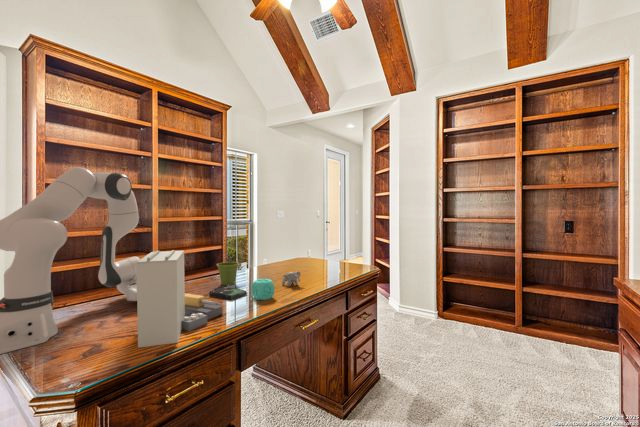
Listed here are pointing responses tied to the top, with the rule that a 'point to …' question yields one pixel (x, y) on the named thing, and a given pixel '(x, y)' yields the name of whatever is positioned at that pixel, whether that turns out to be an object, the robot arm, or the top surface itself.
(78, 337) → the top surface
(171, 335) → the slotted cream upright block
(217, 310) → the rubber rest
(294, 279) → the gray elephant figurine
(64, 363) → the top surface
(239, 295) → the disk drive
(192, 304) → the long orange square stick
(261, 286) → the decorative dice
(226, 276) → the plant pot
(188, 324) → the switch box
